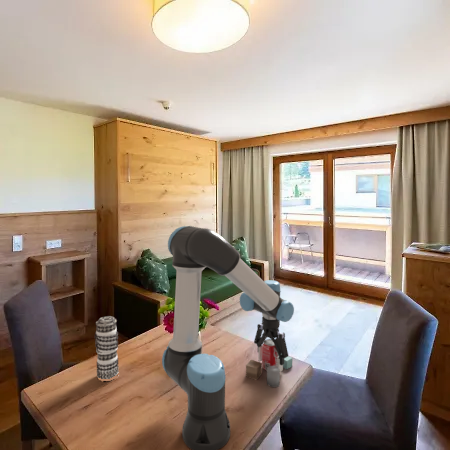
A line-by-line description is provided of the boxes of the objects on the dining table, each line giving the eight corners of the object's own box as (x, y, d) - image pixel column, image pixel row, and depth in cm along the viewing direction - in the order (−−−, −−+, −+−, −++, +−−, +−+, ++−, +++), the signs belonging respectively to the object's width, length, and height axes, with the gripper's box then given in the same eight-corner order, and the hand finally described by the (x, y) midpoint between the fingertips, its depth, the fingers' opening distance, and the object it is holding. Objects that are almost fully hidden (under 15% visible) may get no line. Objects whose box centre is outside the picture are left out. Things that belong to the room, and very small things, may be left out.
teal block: (286, 369, 131) (286, 361, 131) (275, 364, 136) (276, 355, 135) (292, 366, 134) (292, 357, 134) (281, 361, 138) (281, 352, 138)
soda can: (277, 364, 135) (278, 338, 134) (278, 373, 128) (279, 346, 127) (261, 363, 136) (262, 338, 135) (262, 372, 129) (262, 345, 128)
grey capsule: (273, 388, 118) (273, 374, 117) (264, 382, 122) (264, 368, 121) (282, 384, 121) (282, 369, 120) (272, 378, 125) (272, 364, 124)
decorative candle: (91, 381, 123) (88, 321, 120) (105, 368, 132) (103, 313, 129) (110, 384, 120) (108, 324, 118) (123, 371, 129) (122, 315, 127)
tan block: (256, 380, 124) (256, 368, 123) (245, 376, 126) (246, 365, 126) (261, 374, 128) (261, 362, 127) (251, 370, 130) (251, 359, 130)
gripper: (298, 322, 123) (296, 374, 125) (257, 307, 141) (257, 352, 143) (286, 327, 119) (285, 381, 121) (246, 310, 136) (245, 357, 138)
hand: (270, 365), depth 132 cm, fingers open, 10 cm apart
